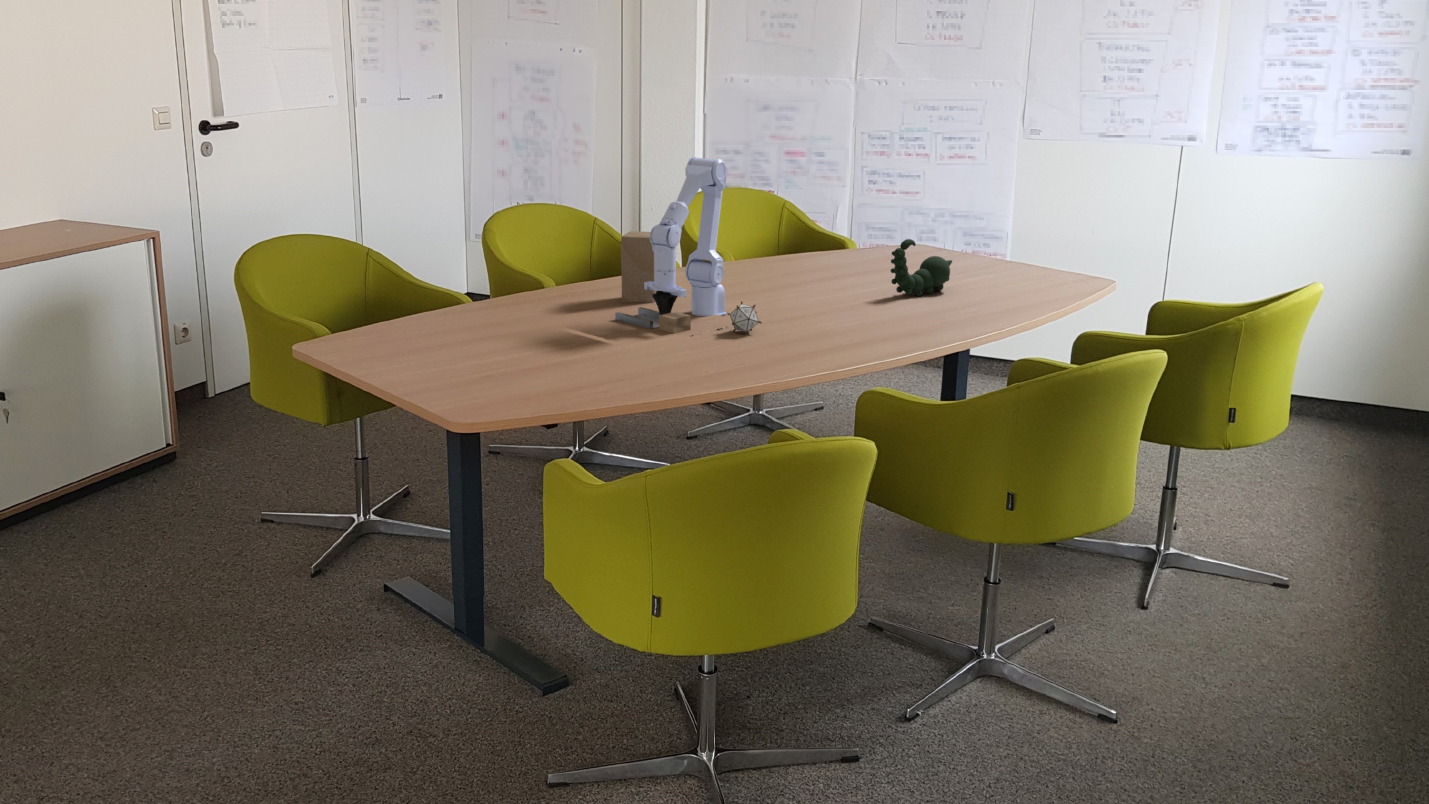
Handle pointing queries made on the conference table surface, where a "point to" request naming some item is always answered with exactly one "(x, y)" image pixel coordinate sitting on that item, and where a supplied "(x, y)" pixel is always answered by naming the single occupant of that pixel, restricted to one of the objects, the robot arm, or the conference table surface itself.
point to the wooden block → (637, 267)
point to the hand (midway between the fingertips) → (665, 319)
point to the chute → (641, 318)
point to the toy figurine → (919, 272)
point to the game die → (744, 318)
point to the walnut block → (674, 322)
